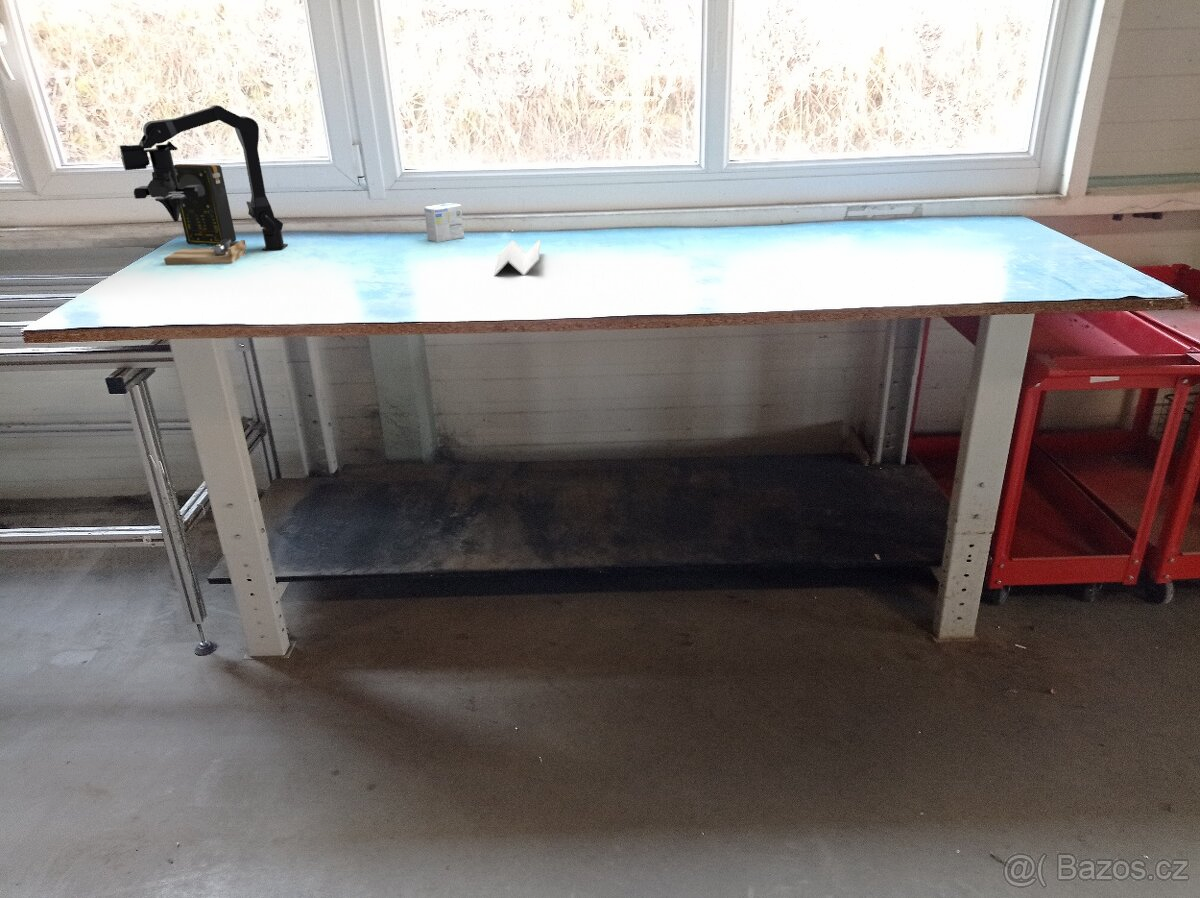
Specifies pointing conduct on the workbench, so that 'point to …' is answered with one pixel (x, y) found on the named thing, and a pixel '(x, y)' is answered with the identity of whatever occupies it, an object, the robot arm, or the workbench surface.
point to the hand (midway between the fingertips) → (176, 221)
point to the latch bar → (222, 247)
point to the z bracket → (518, 257)
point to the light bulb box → (444, 222)
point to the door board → (206, 255)
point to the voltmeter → (205, 205)
